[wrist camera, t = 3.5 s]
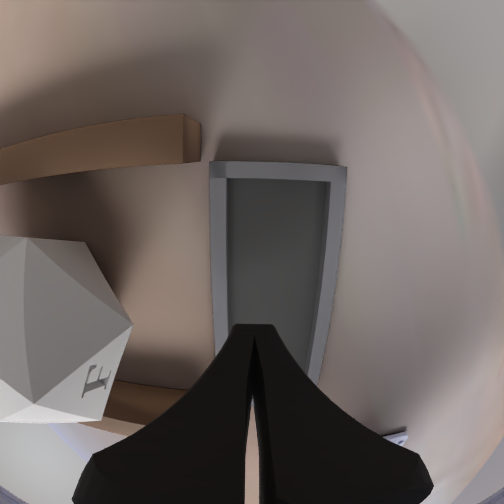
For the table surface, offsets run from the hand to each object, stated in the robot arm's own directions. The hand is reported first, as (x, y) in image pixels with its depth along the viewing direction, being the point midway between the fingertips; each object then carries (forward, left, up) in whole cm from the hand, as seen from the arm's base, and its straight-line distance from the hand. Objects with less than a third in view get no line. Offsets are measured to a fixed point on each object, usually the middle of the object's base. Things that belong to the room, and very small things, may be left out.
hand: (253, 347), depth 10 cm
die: (0, +9, -4) cm, 10 cm away
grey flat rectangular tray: (0, -1, -3) cm, 3 cm away
